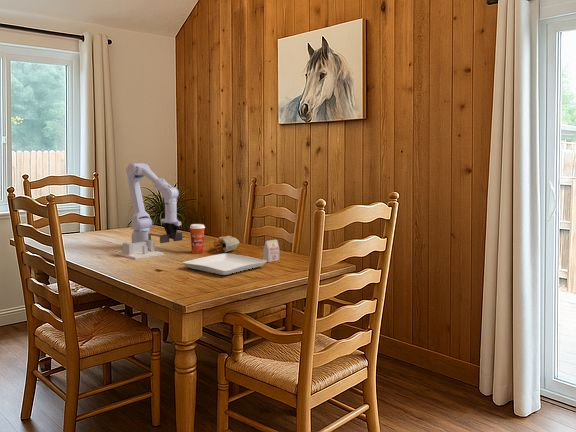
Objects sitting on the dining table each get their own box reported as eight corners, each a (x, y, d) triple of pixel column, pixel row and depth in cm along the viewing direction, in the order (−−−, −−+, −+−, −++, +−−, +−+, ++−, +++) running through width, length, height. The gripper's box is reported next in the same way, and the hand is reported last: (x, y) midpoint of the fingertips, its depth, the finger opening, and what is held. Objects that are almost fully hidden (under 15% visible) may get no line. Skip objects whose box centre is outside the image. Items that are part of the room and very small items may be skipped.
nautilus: (217, 257, 283) (196, 255, 293) (247, 248, 300) (225, 247, 309) (216, 241, 282) (194, 240, 291) (245, 233, 299) (224, 232, 308)
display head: (117, 254, 286) (116, 242, 285) (145, 250, 298) (145, 238, 297) (135, 259, 275) (135, 246, 275) (163, 254, 287) (163, 242, 286)
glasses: (148, 241, 297) (148, 233, 297) (169, 238, 306) (169, 230, 306) (161, 243, 289) (161, 235, 289) (183, 240, 299) (182, 232, 298)
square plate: (225, 260, 277) (225, 252, 277) (268, 268, 260) (268, 259, 260) (180, 269, 257) (180, 260, 256) (224, 279, 239) (224, 269, 239)
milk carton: (263, 261, 273) (263, 240, 272) (274, 259, 277) (274, 239, 276) (268, 262, 270) (268, 241, 269) (279, 261, 275) (279, 240, 273)
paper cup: (190, 254, 289) (190, 226, 287) (189, 251, 296) (188, 224, 294) (206, 253, 291) (206, 225, 289) (204, 250, 298) (204, 223, 296)
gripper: (186, 212, 291) (186, 239, 292) (168, 209, 300) (169, 235, 302) (174, 213, 286) (174, 241, 287) (157, 210, 295) (157, 237, 297)
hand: (171, 238), depth 294 cm, fingers closed on glasses, 2 cm apart
